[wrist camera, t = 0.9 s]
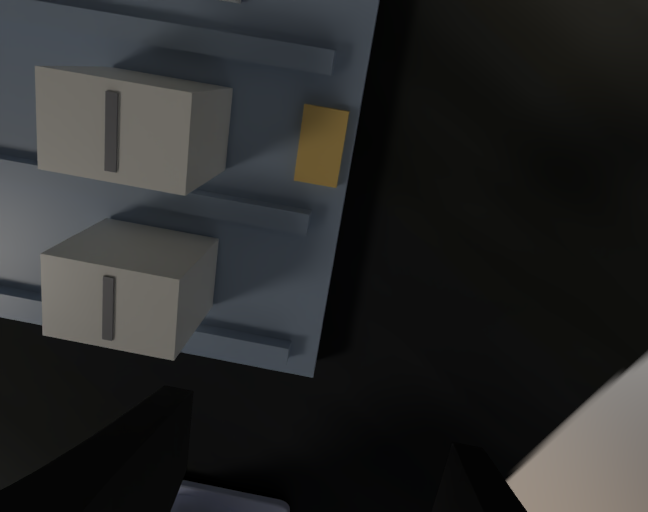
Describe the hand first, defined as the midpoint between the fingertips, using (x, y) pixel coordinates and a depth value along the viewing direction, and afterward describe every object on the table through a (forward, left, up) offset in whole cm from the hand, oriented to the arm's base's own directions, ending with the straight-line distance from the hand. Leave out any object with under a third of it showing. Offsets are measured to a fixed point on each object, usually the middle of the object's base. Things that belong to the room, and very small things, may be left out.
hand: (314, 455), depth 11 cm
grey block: (0, +7, -8) cm, 10 cm away
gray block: (+5, +6, -8) cm, 12 cm away
